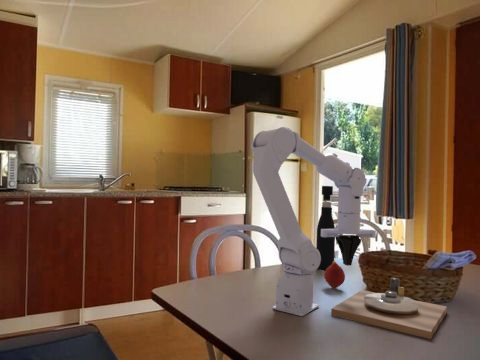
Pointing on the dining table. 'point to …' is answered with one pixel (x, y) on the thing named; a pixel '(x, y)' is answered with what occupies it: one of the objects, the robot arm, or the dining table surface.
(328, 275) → the red oval fruit
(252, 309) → the dining table surface
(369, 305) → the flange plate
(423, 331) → the base board
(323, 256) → the wine bottle
